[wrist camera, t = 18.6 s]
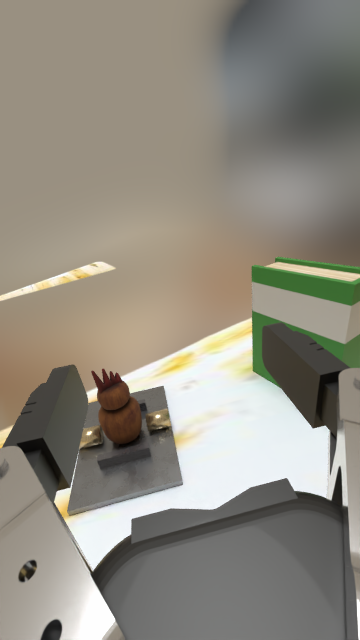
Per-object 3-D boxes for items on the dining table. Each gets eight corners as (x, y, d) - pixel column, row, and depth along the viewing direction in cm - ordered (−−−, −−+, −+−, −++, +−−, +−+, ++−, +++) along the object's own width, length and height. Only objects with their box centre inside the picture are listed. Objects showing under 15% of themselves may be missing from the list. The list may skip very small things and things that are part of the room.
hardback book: (252, 370, 57) (251, 266, 46) (275, 357, 60) (278, 256, 50) (331, 419, 43) (355, 284, 33) (355, 398, 46) (383, 270, 36)
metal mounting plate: (164, 389, 55) (161, 374, 54) (182, 484, 37) (178, 466, 35) (90, 406, 54) (84, 392, 52) (69, 515, 35) (59, 498, 33)
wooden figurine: (107, 455, 41) (79, 383, 35) (107, 427, 46) (83, 361, 40) (147, 442, 42) (128, 370, 36) (143, 417, 48) (125, 350, 41)
